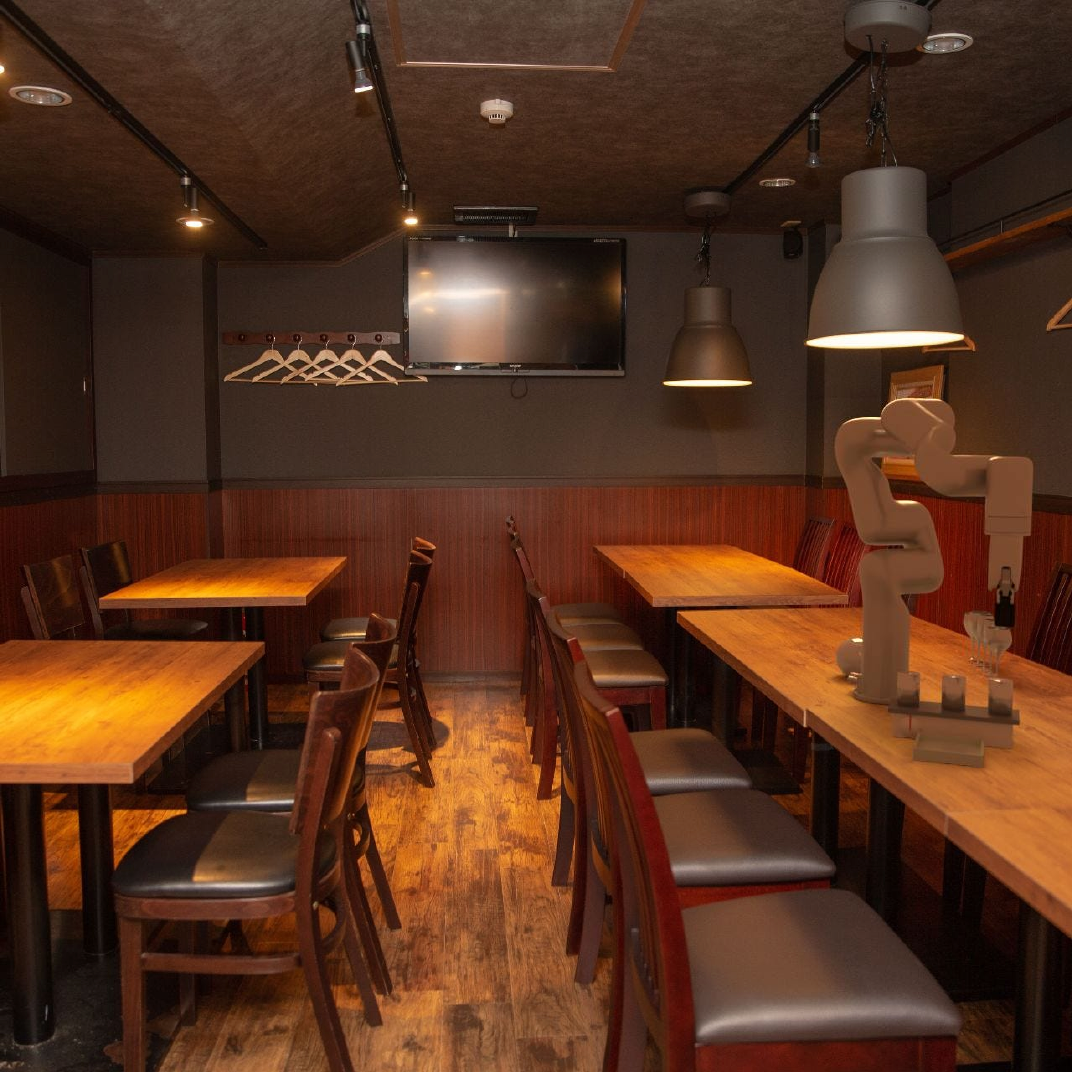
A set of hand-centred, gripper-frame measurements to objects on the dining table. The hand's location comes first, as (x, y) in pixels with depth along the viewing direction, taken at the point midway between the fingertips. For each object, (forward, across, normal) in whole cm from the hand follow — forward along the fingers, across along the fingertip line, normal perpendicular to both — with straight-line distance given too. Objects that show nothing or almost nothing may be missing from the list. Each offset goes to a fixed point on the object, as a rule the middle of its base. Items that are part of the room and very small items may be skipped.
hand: (1004, 622), depth 188 cm
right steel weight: (+16, 0, 0) cm, 17 cm away
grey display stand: (+22, 0, -8) cm, 23 cm away
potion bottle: (+22, -48, -28) cm, 59 cm away
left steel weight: (+16, 0, -16) cm, 23 cm away
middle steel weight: (+16, 0, -8) cm, 18 cm away
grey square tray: (+22, +12, -8) cm, 26 cm away
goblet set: (+22, -68, -4) cm, 71 cm away
